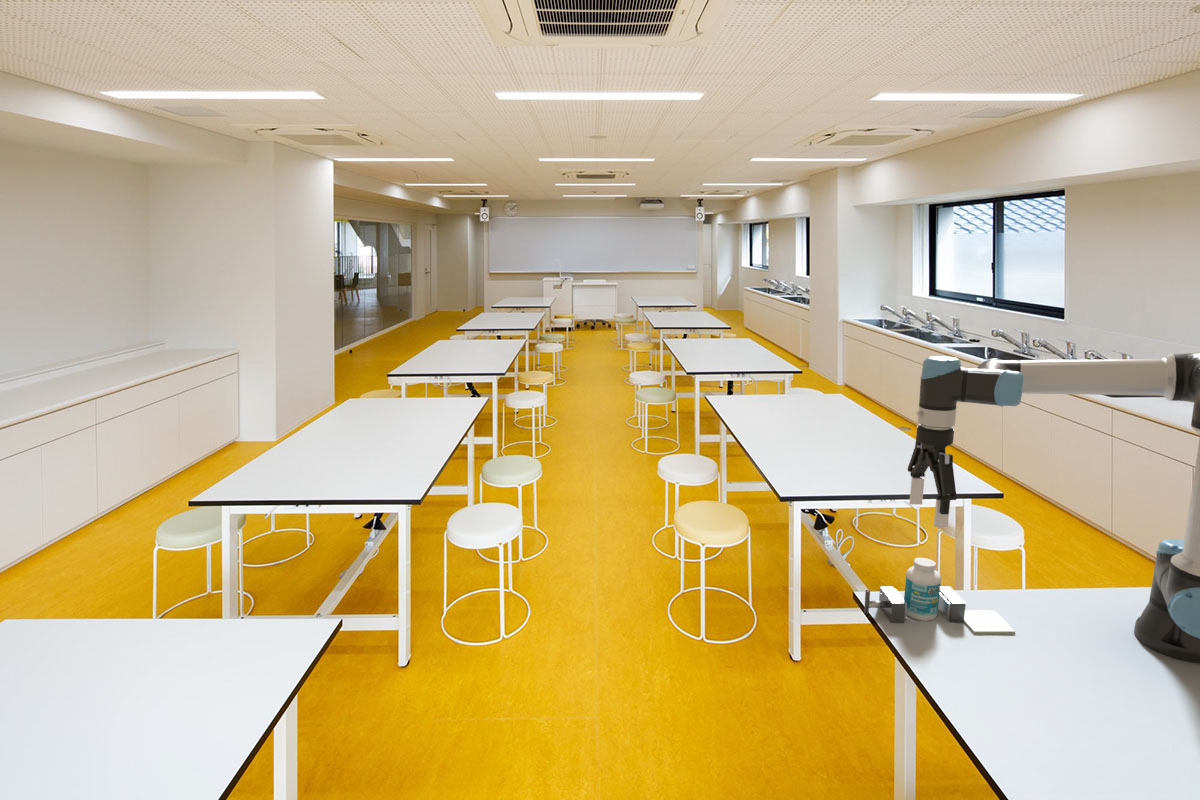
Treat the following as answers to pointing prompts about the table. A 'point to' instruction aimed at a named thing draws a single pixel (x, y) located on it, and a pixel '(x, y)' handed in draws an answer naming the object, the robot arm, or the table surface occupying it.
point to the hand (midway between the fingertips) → (927, 514)
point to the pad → (987, 623)
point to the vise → (897, 606)
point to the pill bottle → (922, 590)
